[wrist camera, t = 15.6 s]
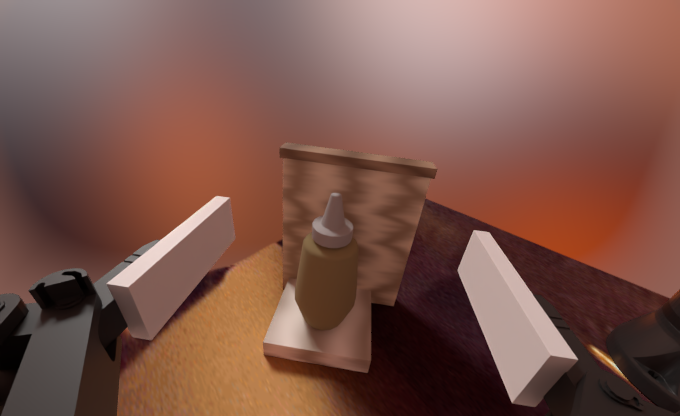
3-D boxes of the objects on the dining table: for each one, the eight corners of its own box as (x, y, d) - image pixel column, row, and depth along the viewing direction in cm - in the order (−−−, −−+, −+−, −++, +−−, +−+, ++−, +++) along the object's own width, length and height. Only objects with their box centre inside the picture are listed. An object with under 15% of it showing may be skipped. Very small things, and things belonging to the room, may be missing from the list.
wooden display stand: (394, 295, 43) (432, 162, 32) (402, 379, 31) (468, 213, 20) (285, 278, 44) (286, 142, 33) (253, 353, 32) (238, 180, 21)
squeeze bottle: (352, 343, 32) (377, 219, 23) (287, 335, 32) (289, 208, 23) (352, 293, 39) (372, 184, 30) (300, 287, 39) (305, 176, 30)
